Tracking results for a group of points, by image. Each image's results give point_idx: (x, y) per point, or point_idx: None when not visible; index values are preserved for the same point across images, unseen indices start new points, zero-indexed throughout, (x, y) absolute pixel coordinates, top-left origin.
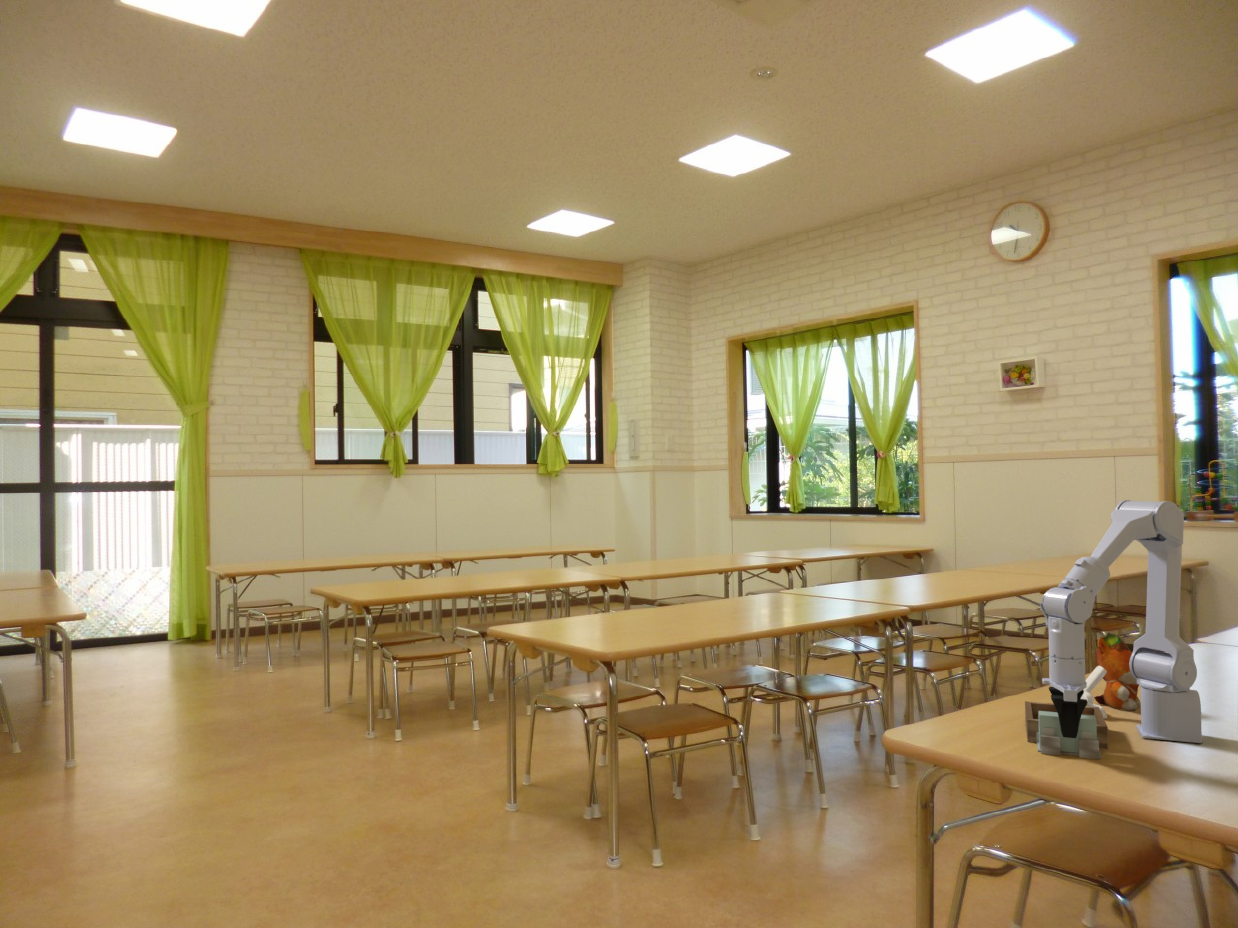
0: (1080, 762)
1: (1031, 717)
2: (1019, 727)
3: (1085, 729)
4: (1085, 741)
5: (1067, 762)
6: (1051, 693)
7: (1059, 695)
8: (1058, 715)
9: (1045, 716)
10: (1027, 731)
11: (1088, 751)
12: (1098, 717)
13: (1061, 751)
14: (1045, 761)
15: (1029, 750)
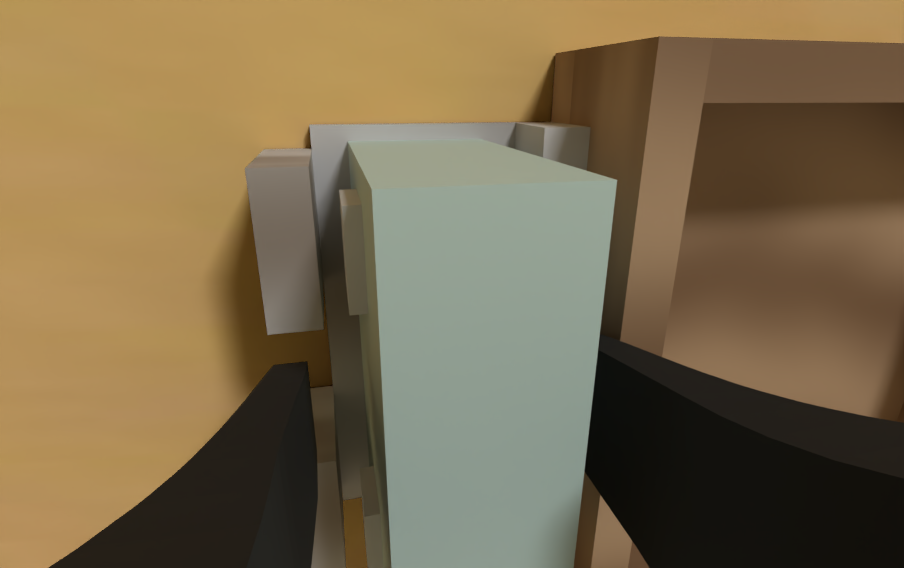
0: (174, 400)
1: (752, 89)
2: (887, 11)
3: (383, 551)
4: None
5: (120, 328)
6: (884, 476)
7: (818, 564)
8: (153, 492)
9: (377, 269)
10: (594, 48)
11: None
12: None
13: (345, 290)
14: (42, 177)
15: (314, 56)
